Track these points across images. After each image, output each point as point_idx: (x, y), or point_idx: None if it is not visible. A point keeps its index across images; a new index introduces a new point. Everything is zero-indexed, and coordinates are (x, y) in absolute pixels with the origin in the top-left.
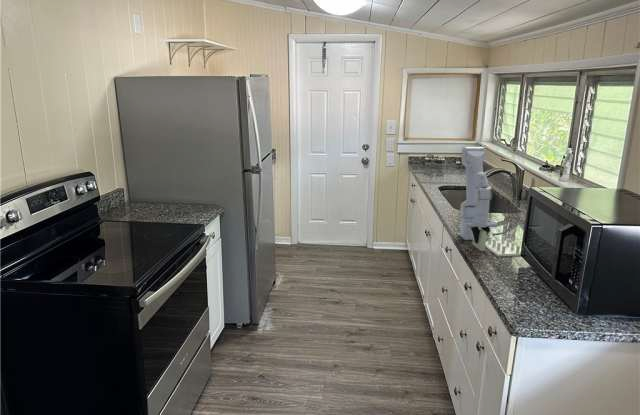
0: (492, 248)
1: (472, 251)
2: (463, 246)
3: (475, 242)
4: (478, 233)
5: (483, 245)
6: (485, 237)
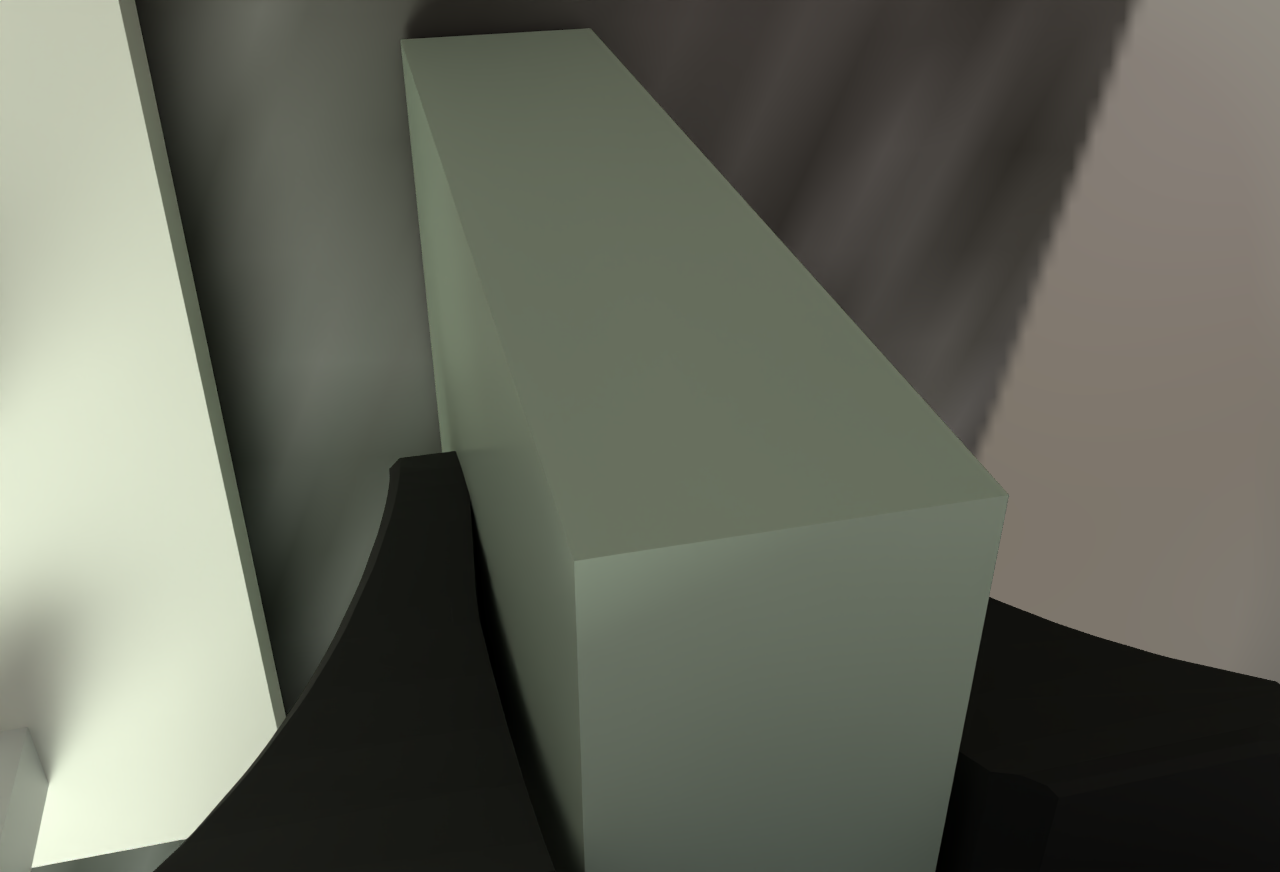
0: (24, 132)
1: (902, 25)
2: None
3: None
4: None
5: (532, 110)
6: (543, 294)
